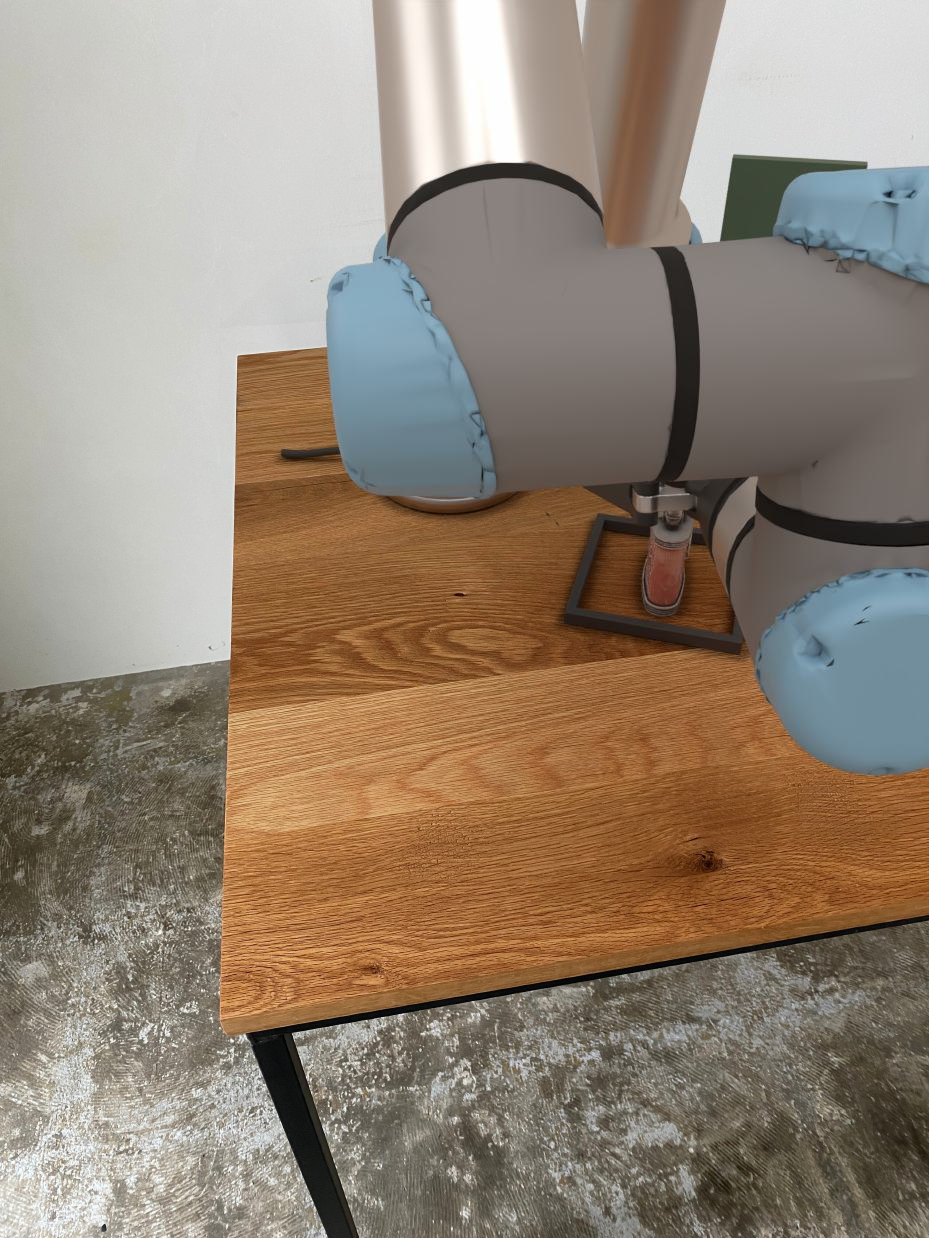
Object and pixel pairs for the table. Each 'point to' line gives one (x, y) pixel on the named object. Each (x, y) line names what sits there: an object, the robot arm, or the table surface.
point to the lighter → (666, 563)
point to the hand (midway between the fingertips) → (720, 424)
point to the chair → (766, 191)
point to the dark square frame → (636, 625)
